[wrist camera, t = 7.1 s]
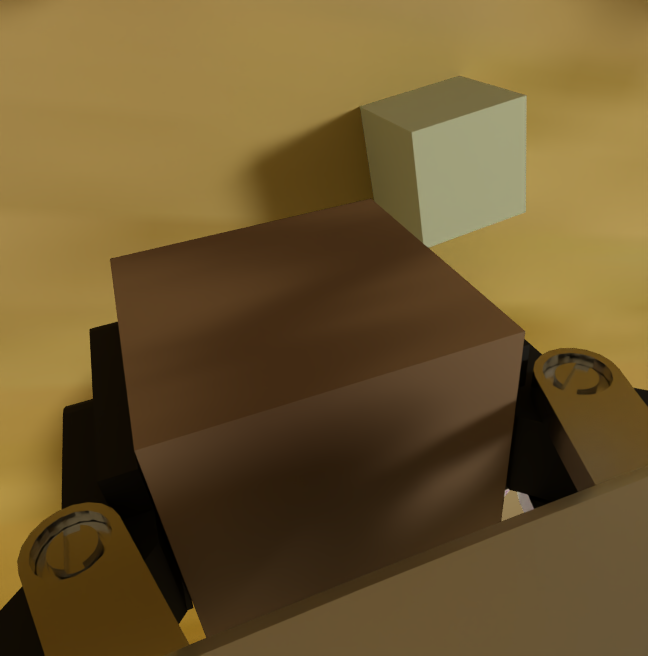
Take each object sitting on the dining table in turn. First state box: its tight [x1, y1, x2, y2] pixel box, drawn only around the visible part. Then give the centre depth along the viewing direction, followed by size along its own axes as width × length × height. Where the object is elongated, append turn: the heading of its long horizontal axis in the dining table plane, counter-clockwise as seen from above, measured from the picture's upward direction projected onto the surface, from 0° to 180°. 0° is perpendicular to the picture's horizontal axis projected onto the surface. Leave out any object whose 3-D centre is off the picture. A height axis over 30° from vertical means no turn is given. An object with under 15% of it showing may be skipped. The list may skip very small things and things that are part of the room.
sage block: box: [360, 76, 526, 248], centre depth 26 cm, size 5×5×5 cm
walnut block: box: [110, 199, 525, 638], centre depth 11 cm, size 5×5×5 cm
